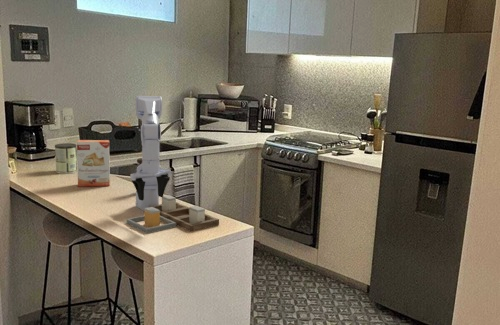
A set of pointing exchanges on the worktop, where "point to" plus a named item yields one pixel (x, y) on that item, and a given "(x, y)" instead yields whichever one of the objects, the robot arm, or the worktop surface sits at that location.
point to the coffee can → (66, 158)
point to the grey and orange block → (152, 217)
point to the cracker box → (93, 163)
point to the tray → (148, 230)
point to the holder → (186, 218)
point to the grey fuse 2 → (196, 214)
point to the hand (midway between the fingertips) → (151, 198)
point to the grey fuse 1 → (168, 203)
